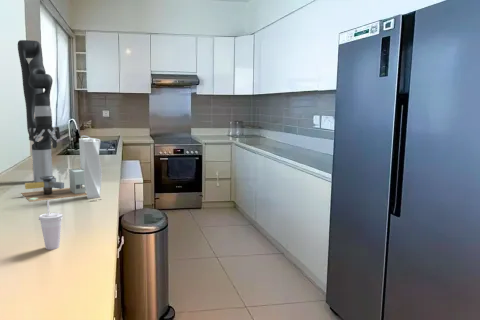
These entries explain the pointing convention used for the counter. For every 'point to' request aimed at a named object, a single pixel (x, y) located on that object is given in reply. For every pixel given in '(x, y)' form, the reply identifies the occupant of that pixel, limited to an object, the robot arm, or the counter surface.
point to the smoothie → (51, 228)
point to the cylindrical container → (82, 153)
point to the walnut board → (55, 194)
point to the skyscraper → (92, 167)
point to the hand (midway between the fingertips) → (45, 148)
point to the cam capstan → (45, 184)
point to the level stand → (77, 181)
